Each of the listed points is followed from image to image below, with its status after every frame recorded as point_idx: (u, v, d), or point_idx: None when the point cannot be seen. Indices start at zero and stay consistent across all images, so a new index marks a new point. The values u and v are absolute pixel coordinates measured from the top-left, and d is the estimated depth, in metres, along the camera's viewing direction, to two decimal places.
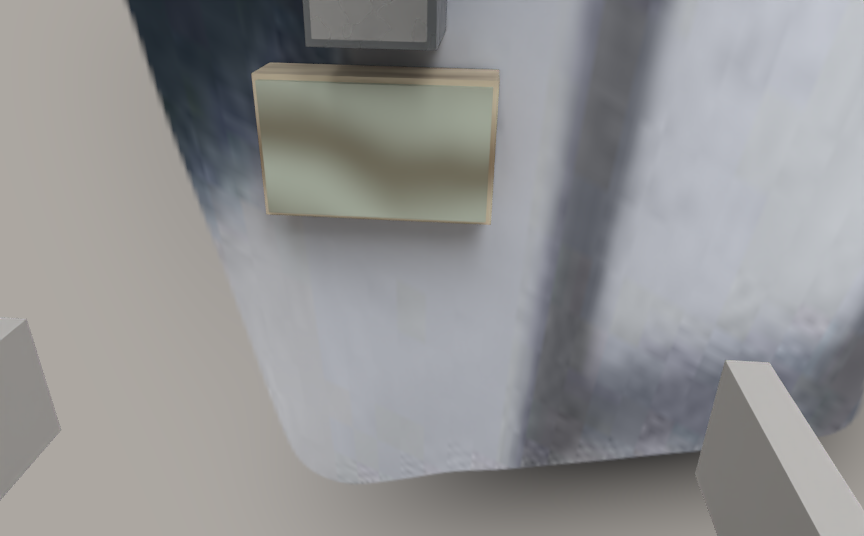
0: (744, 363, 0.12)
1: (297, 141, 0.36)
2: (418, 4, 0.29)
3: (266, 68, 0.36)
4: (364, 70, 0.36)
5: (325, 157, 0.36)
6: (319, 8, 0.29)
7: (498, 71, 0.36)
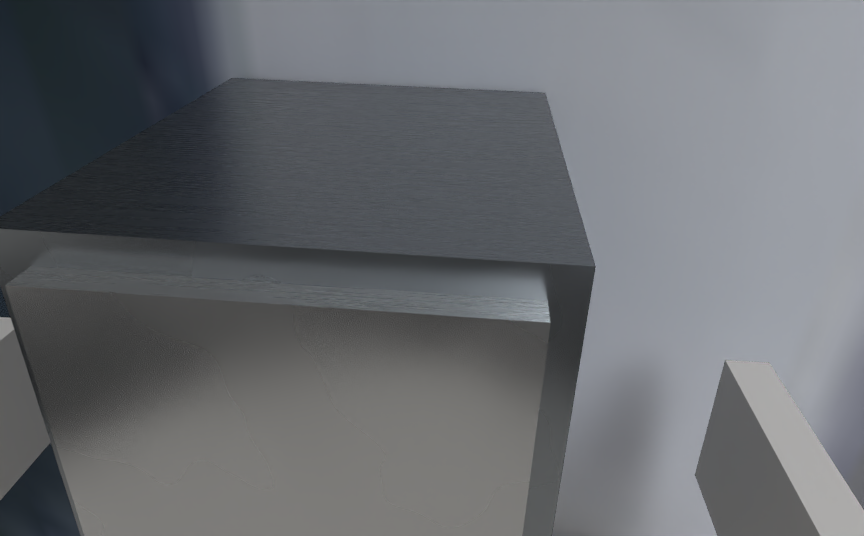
0: (745, 363, 0.12)
1: None
2: None
3: None
4: None
5: None
6: None
7: None
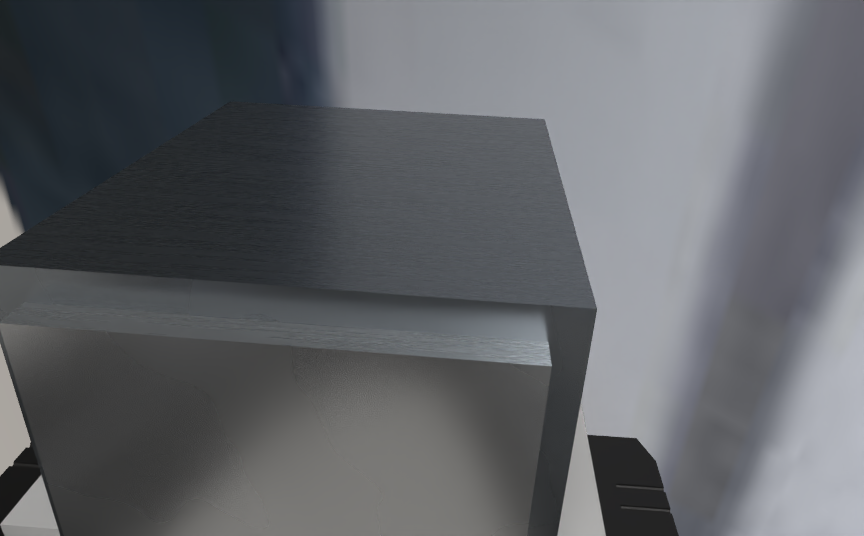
0: None
1: None
2: None
3: None
4: None
5: None
6: None
7: None
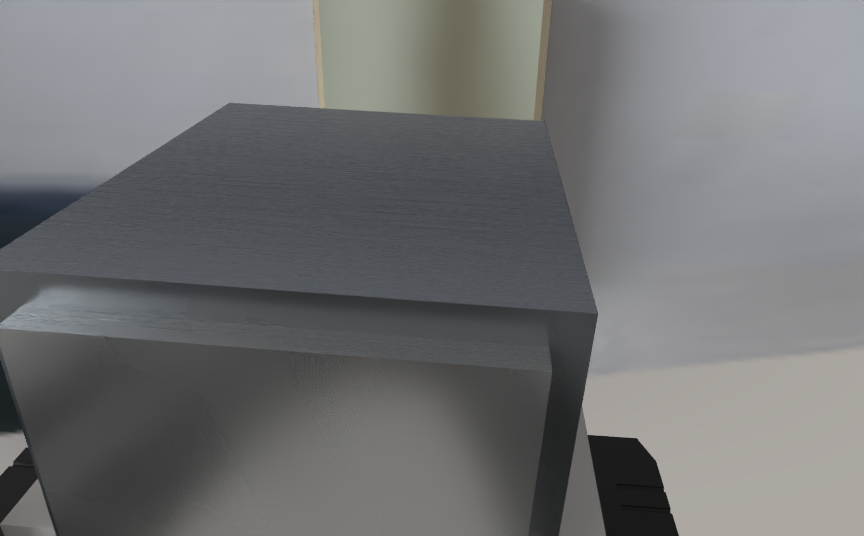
0: None
1: None
2: None
3: None
4: None
5: None
6: None
7: None
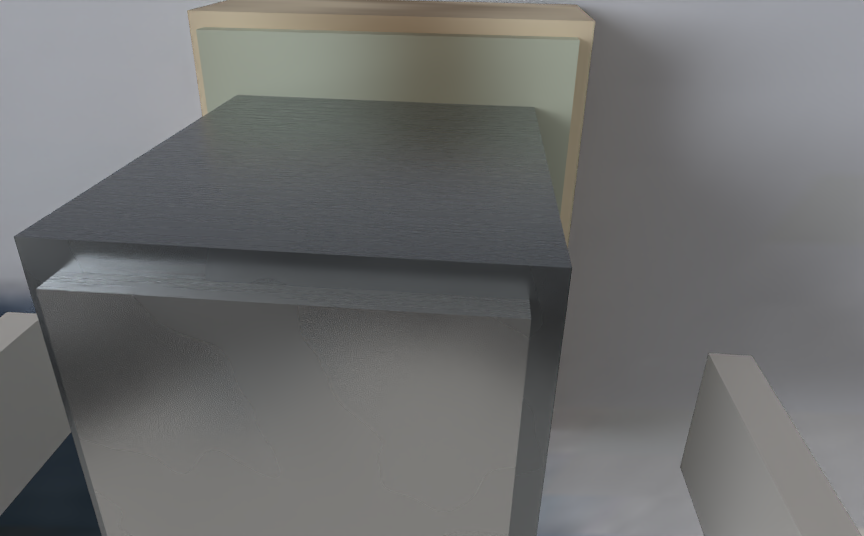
0: (727, 356, 0.12)
1: None
2: None
3: None
4: None
5: None
6: None
7: (233, 0, 0.15)
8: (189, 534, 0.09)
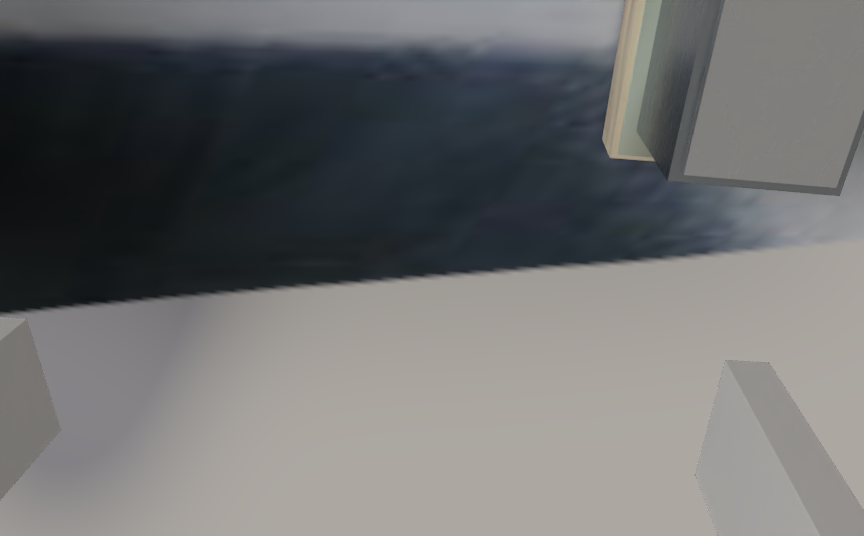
0: (745, 363, 0.12)
1: None
2: (840, 143, 0.22)
3: (607, 142, 0.32)
4: (626, 26, 0.30)
5: None
6: (704, 140, 0.23)
7: None
8: (761, 6, 0.21)
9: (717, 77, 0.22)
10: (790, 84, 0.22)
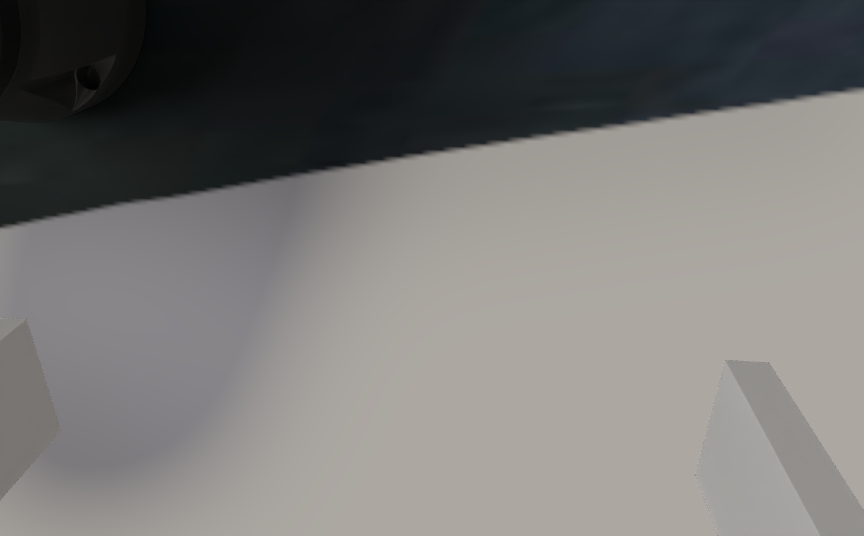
0: (745, 363, 0.12)
1: None
2: None
3: None
4: None
5: None
6: None
7: None
8: None
9: None
10: None
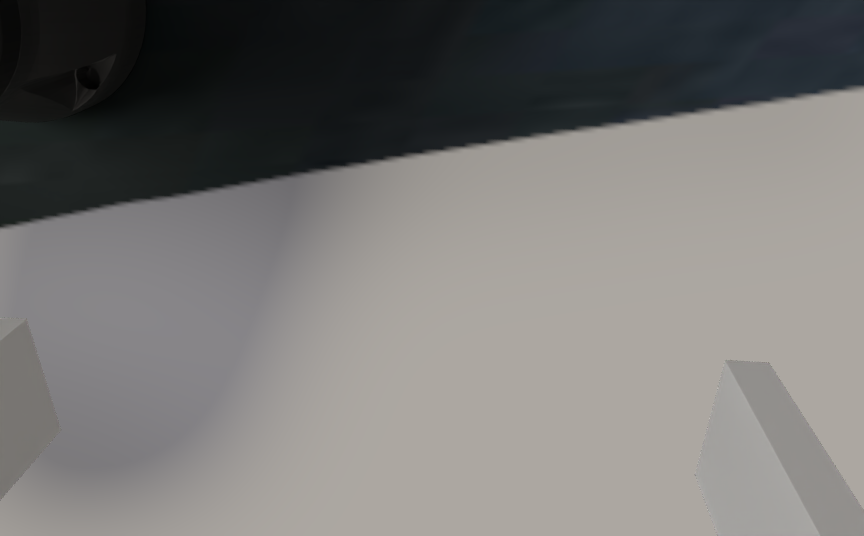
0: (744, 363, 0.12)
1: None
2: None
3: None
4: None
5: None
6: None
7: None
8: None
9: None
10: None
